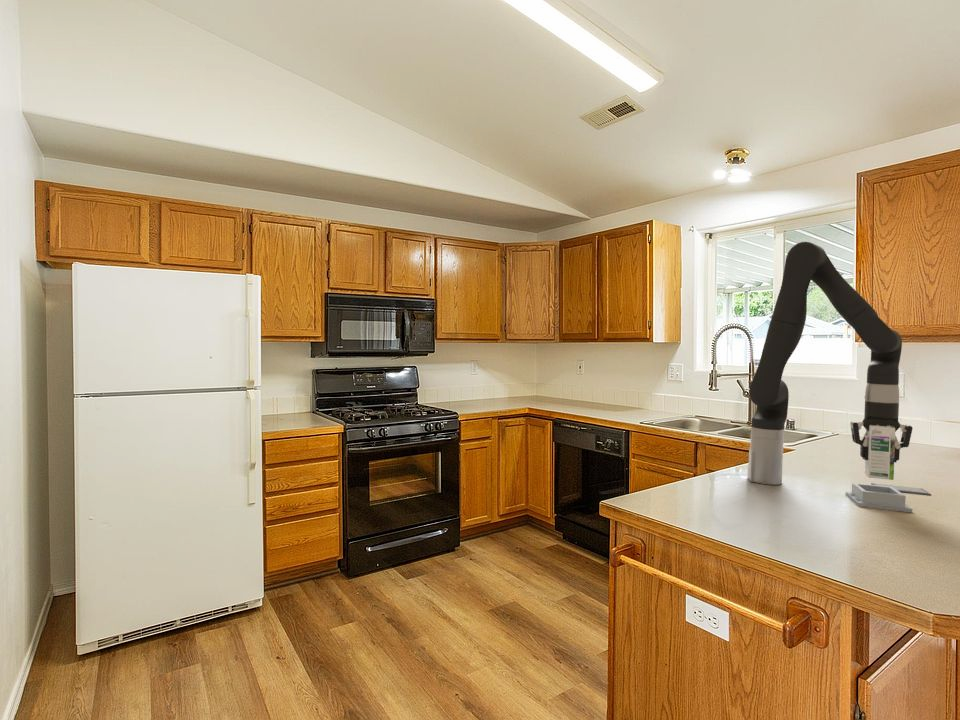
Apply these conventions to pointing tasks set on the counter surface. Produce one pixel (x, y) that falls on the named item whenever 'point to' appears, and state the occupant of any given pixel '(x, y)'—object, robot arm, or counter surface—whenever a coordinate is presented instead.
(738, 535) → the counter surface
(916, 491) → the slab
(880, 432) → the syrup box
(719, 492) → the counter surface
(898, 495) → the grey square socket
